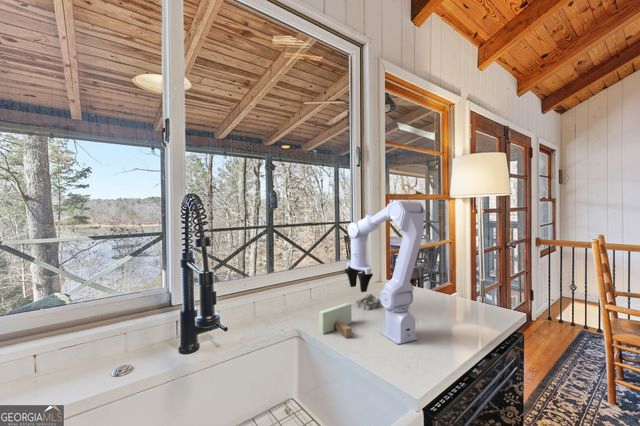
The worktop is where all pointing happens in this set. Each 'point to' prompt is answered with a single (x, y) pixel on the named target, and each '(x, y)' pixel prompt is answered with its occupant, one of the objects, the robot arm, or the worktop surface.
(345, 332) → the walnut board
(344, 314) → the long pale green beam
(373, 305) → the egg carton
